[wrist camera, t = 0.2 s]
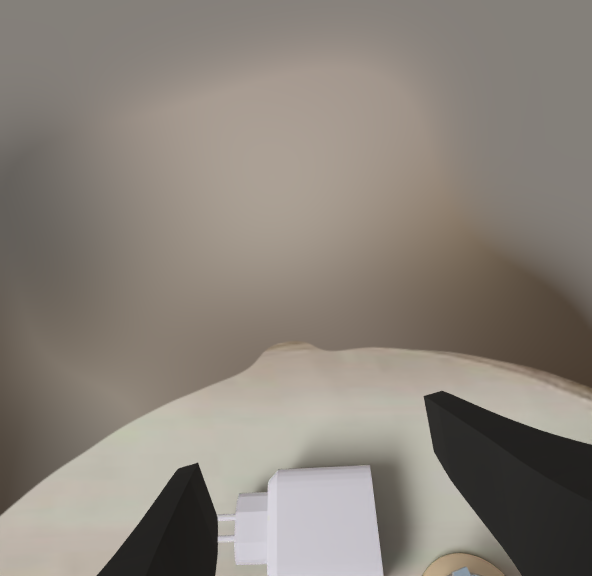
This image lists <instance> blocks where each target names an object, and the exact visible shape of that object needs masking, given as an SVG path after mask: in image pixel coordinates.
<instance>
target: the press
mask: <svg viewBox="0 0 592 576" xmlns="http://www.w3.org/2000/svg"><path fill="white" fill-rule="evenodd" d="M422 576H505V575H504V574H503V573H502V572H501V571H500V570H499V569H497V568H496V567H495V566H493V565H492V564H491V563H489V562H487V561H486V560H484V559H481V558H479V557H477V556H473V555H470V554H464V553H453V554H448V555H445V556H442V557H440V558H438V559H437V560H435V561H434V562H433V563H431V564H430V565H429V567H428V568H427V569H426V570H425V572H424V573H423V575H422Z"/></svg>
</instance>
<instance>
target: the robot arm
mask: <svg viewBox="0 0 592 576" xmlns="http://www.w3.org/2000/svg"><path fill="white" fill-rule="evenodd" d="M424 400H425V406H426V411H427V417H428V422H429V427H430V433H431V438H432V443H433V449H434V453H435V454H436V456H437V458H438V459H439V461H440V463H441V465H442V466H443V468H444V470H445V471H446V473H447V475H448V476H449V478H450V479H451V481H452V482H453V484H454V485H455V486H456V488H457V489H458V490H459V492H460V493H461V494H462V496H463V497H464V498H465V500H466V501H467V502H468V503H469V505H470V506H471V507H472V509H473V510H474V511H475V512H476V514H477V515H478V516H479V518H480V519H481V520H482V521H483V523H484V524H485V525H486V527H487V528H488V529H489V531H490V532H491V533H492V534H493V536H494V537H495V538H496V540H497V541H498V542H499V543H500V545H501V546H502V547H503V549H504V550H505V551H506V553H507V554H508V556H509V557H510V558H511V560H512V561H513V563H514V564H515V565H516V567H517V569H518V570H519V572H520V573H521V575H522V576H592V445H591V444H587V443H582V442H579V441H575V440H572V439H568V438H565V437H561V436H557V435H554V434H551V433H548V432H544V431H541V430H538V429H535V428H533V427H530V426H527V425H524V424H521V423H519V422H516V421H513V420H511V419H508V418H505V417H503V416H501V415H498V414H496V413H493V412H491V411H488V410H486V409H484V408H481V407H479V406H477V405H474V404H472V403H470V402H468V401H465V400H463V399H461V398H458V397H456V396H454V395H452V394H449V393H447V392H444V391H440V392H436V393H433V394H430V395H426V396H424ZM217 555H218V517H217V514H216V512H215V509H214V506H213V503H212V500H211V498H210V495H209V492H208V489H207V487H206V484H205V481H204V478H203V476H202V473H201V470H200V467H199V464H198V463H196V464H192V465H189V466H185V467H182V468H179V469H178V470H177V471H176V472H175V473H174V475H173V476H172V478H171V479H170V480H169V482H168V483H167V485H166V486H165V487H164V489H163V490H162V492H161V493H160V495H159V496H158V497H157V499H156V500H155V502H154V503H153V505H152V506H151V507H150V509H149V510H148V511H147V513H146V514H145V516H144V517H143V518H142V520H141V521H140V523H139V524H138V525H137V527H136V528H135V529H134V530H133V532H132V533H131V534H130V536H129V537H128V538H127V539H126V541H125V542H124V543H123V544H122V546H121V547H120V548H119V550H118V551H117V552H116V553H115V555H114V556H113V557H112V558H111V560H110V561H109V562H108V563H107V564H106V566H105V567H104V568H103V569H102V570H101V571H100V572H99V574H98V575H97V576H215V573H216V564H217Z"/></svg>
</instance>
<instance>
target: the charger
mask: <svg viewBox="0 0 592 576" xmlns="http://www.w3.org/2000/svg"><path fill="white" fill-rule="evenodd" d="M217 517H218V521H228V520H235V535H224V536H218V542H234V549H235V562H236V565H248V564H267V576H383V567H382V559H381V551H380V543H379V534H378V526H377V518H376V510H375V501H374V493H373V485H372V477H371V470H370V465H356V466H336V467H316V468H296V469H278V470H277V472H276V473H275V474H274V475H273V476H272V478H271V479H270V480H269V481H268V492H257V493H239V496H238V501H237V507H236V514H218V515H217Z"/></svg>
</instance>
